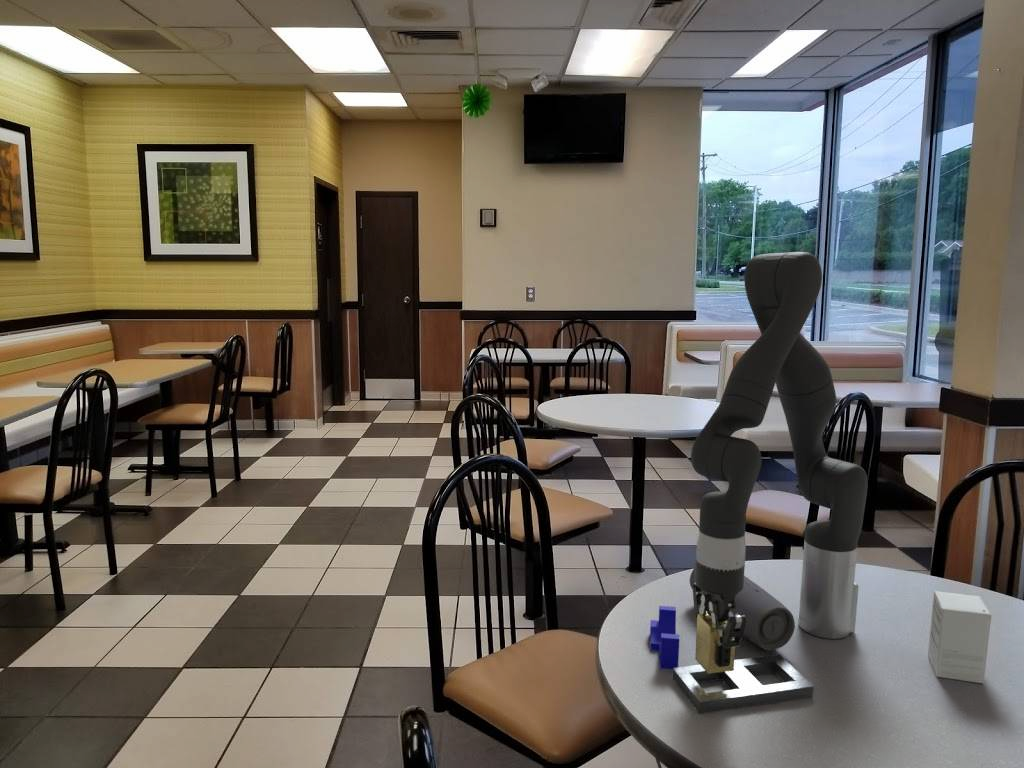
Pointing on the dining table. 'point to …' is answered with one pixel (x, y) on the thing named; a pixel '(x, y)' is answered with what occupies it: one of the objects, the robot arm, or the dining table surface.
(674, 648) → the cable clip
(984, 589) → the dining table surface
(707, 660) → the tan rectangular block
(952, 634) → the supplement box
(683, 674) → the grey flat frame
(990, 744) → the dining table surface
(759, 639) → the bluetooth speaker
